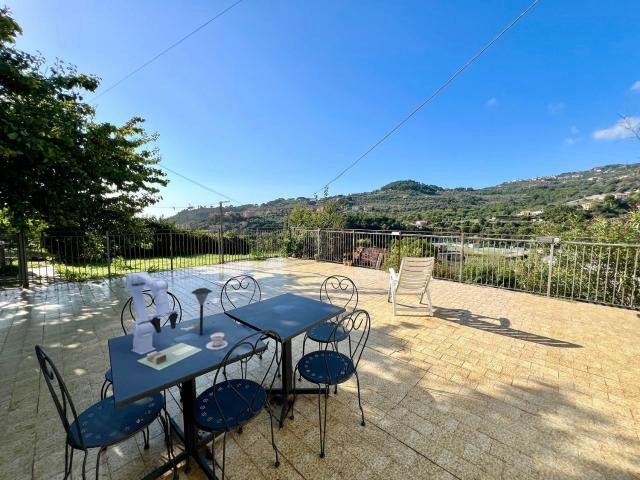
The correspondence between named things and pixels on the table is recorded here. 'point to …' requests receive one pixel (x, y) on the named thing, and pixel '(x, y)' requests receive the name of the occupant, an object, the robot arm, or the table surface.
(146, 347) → the robot arm
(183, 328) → the smartphone
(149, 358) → the brown-topped white block
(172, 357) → the mat
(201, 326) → the solar garden light
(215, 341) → the teacup
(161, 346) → the table surface
